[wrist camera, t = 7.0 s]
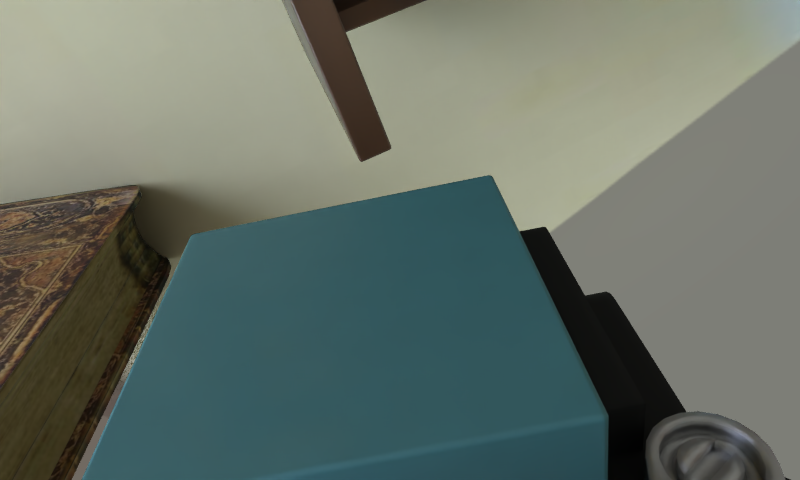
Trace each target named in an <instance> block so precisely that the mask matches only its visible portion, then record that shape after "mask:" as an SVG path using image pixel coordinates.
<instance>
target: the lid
mask: <svg viewBox="0 0 800 480" xmlns="http://www.w3.org/2000/svg"><path fill="white" fill-rule="evenodd" d="M282 1H283V4H284V6H285V8H286V10H287V13H288V15H289V17H290V19H291V22H292V24H293V26H294V28H295V31H296V33H297V35H298V37H299V40H300V42H301V44H302V46H303V49H304V51H305V53H306V55H307V57H308V59H309V61H310V63H311V65H312V67H313V69H314V71H315V73H316V75H317V77H318V79H319V81H320V83H321V85H322V87H323V89H324V91H325V93H326V95H327V97H328V99H329V101H330V103H331V105H332V107H333V109H334V111H335V113H336V115H337V117H338V119H339V121H340V123H341V125H342V127H343V129H344V130H345V132H346V134H347V136H348V138H349V140H350V142H351V144H352V146H353V148H354V150H355V152H356V154H357V156H358V158H359V160H360V161H361V162H363V161H365V160H367V159H370V158H372V157H374V156H376V155H379V154H381V153H383V152H385V151H388V150H390V149H391V145H390V142H389V140H388V137H387V135H386V132H385V130H384V127H383V125H382V122H381V120H380V117H379V115H378V112H377V110H376V107H375V105H374V102H373V100H372V97H371V95H370V92H369V90H368V87H367V85H366V82H365V80H364V77H363V75H362V72H361V70H360V67H359V65H358V62H357V60H356V57H355V55H354V52H353V50H352V47H351V45H350V42H349V40H348V37H347V34H346V32H345V29H344V27H343V24H342V22H341V19H340V17H339V14H338V12H337V9H336V7H335V4H334V2H333V0H282Z"/></svg>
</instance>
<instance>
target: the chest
mask: <svg viewBox="0 0 800 480" xmlns="http://www.w3.org/2000/svg"><path fill="white" fill-rule="evenodd" d="M423 1H426V0H333V2H334V4H335V7H336V9H337V12H338V14H339V17H340V19H341V22H342V24H343V27H344V29H345V32H348V31H350V30H353V29H355V28H358V27H360V26H363V25H365V24H368V23H370V22H373V21H375V20H378V19H380V18H383V17H385V16H388V15H390V14H393V13H395V12H398V11H401V10H403V9H406V8H408V7H411V6H413V5H416V4H418V3H421V2H423Z"/></svg>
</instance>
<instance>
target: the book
mask: <svg viewBox="0 0 800 480" xmlns="http://www.w3.org/2000/svg"><path fill="white" fill-rule="evenodd" d="M140 198H141V192H140V190H139V187H138V186H124V187H117V188H109V189H102V190H94V191H87V192H80V193H73V194H67V195H60V196H54V197H47V198H41V199H34V200H28V201H21V202H15V203H8V204H1V205H0V480H72V478H73V476H74V473H75V471H76V469H77V467H78V465H79V463H80V461H81V459H82V457H83V455H84V453H85V451H86V448H87V446H88V444H89V442H90V440H91V438H92V436H93V434H94V432H95V430H96V427H97V425H98V423H99V421H100V419H101V417H102V415H103V413H104V411H105V409H106V407H107V405H108V403H109V400H110V398H111V396H112V394H113V392H114V390H115V388H116V386H117V384H118V382H119V380H120V378H121V375H122V373H123V371H124V369H125V367H126V365H127V363H128V361H129V359H130V357H131V355H132V353H133V350H134V348H135V346H136V344H137V342H138V340H139V338H140V336H141V334H142V332H143V330H144V327H145V325H146V323H147V321H148V319H149V317H150V315H151V313H152V311H153V309H154V307H155V305H156V302H157V300H158V298H159V296H160V294H161V292H162V290H163V288H164V286H165V283H166V281H167V279H168V277H169V273H170V270H171V264H170V262H169V260H168V258H166V257H163V256H161V255H159V254H158V253H156V252H155V251H154V250H152V249H151V248H150V247H149V246H148V245H147V244H146V243H145V242H144V240H143V239H142V237H141V236H140V234H139V232H138V230H137V228H136V224H135V220H134V214H133V211H134V209H135V208H136V206H137V205H138V203H139V200H140Z"/></svg>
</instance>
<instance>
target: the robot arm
mask: <svg viewBox="0 0 800 480" xmlns="http://www.w3.org/2000/svg"><path fill="white" fill-rule="evenodd" d="M519 232H520V234H521V236H522V238H523V240H524V243H525V245H526V247H527V249H528V251H529V253H530V255H531V257H532V259H533V261H534V263H535V265H536V267H537V269H538V271H539V273H540V275H541V278H542V280H543V282H544V284H545V286H546V288H547V290H548V292H549V294H550V296H551V298H552V300H553V302H554V304H555V306H556V308H557V311H558V313H559V315H560V317H561V319H562V321H563V323H564V325H565V327H566V329H567V331H568V333H569V335H570V337H571V339H572V341H573V344H574V346H575V348H576V350H577V352H578V354H579V356H580V358H581V360H582V362H583V364H584V366H585V368H586V370H587V372H588V374H589V377H590V379H591V381H592V383H593V385H594V387H595V389H596V391H597V393H598V395H599V397H600V399H601V401H602V403H603V405H604V407H605V410H606V412H607V414H608V416H609V420H608V480H790V479H787V478H785V477H784V474H783V472H782V469H781V467H780V464H779V462H778V460H777V458H776V457H775V455H774V453H773V451H772V450H771V448H770V447H769V446H768V445H767V444H766V443H765V442H764V441H763V440H762V439H761V438H760V437H759V436H758V435H757V434H756V433H755V432H753V431H752V430H750V429H749V428H747V427H745V426H744V425H742V424H741V423H739V422H737V421H734V420H732V419H729V418H726V417H723V416H721V415H718V414H711V413H705V412H686V411H685V409H684V408H683V406H682V404H681V403H680V401H679V399H678V398H677V396H676V395H675V393H674V392H673V390H672V388H671V387H670V385H669V384H668V382H667V381H666V379H665V378H664V376H663V374H662V373H661V371H660V370H659V368H658V366H657V365H656V363H655V362H654V360H653V358H652V357H651V355H650V354H649V352H648V351H647V349H646V347H645V346H644V344H643V343H642V341H641V340H640V338H639V336H638V335H637V333H636V332H635V330H634V329H633V327H632V325H631V324H630V322H629V321H628V319H627V317H626V316H625V314H624V313H623V311H622V310H621V308H620V306H619V305H618V303H617V302H616V300H615V299H614V297H613V296H612V295H611V294H610V293H608V292H602V293H596V294H592V295H587V296H585V295H584V293H583V292H582V290H581V288H580V286H579V285H578V283H577V281H576V279H575V277H574V276H573V274H572V272H571V270H570V269H569V267H568V265H567V263H566V262H565V260H564V258H563V256H562V254H561V253H560V251H559V249H558V247H557V246H556V244H555V242H554V240H553V239H552V237H551V235H550V233H549V232H548V230H547V229H546V227H540V228H535V229H530V230H525V231H519Z"/></svg>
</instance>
